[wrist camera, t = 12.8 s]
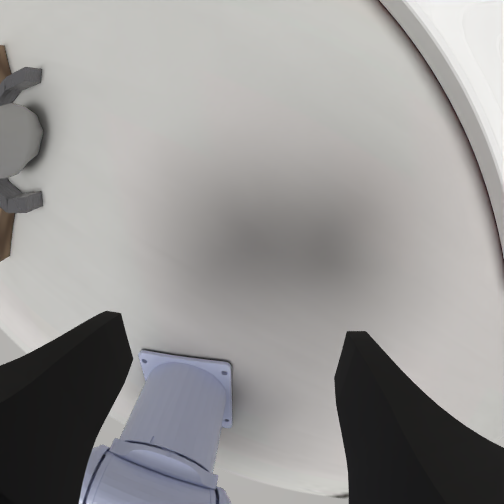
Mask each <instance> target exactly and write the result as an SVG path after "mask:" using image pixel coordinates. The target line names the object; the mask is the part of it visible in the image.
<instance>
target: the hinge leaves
mask: <svg viewBox="0 0 504 504" xmlns="http://www.w3.org/2000/svg"><path fill="white" fill-rule="evenodd" d="M9 75H11V72H10V68H9V64H8V60H7V56H6V52H5V47H4V46H3V45H0V84H1V82H2V81H3V79H5V77H7V76H9ZM14 215H15V213H8V212H7V213H6V212H5V211H4V210H3V209H2V208H1V207H0V261H2V260H4V259H5V258H7V257H8V256H10V246H11V237H12V229H13V222H14Z"/></svg>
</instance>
